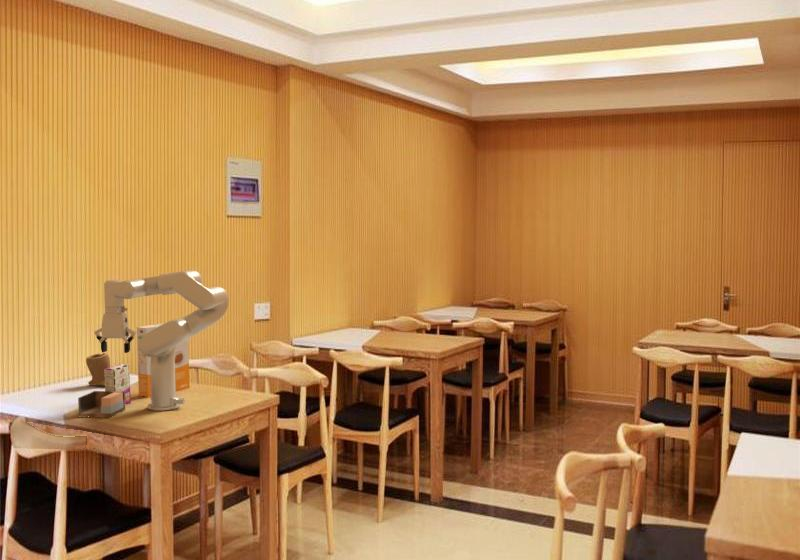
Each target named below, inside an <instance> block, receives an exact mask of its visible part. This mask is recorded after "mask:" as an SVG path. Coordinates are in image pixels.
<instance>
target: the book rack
mask: <svg viewBox="0 0 800 560" xmlns="http://www.w3.org/2000/svg"><path fill="white" fill-rule="evenodd" d="M77 401H78V403H77V404H78V413H77V417H78V416H81V417H80V418H83V417H82V416H85V417H84V418H91V417H111V418H113V417H115V416H116V415H115V414H117V413H119V412H121V411H123V410H125V411H126V405H125V392H117V391H105V390H93V391H91V392H89V393H86V394H84V395H82V396H80V397H78V399H77ZM123 412H124V411H123ZM121 413H122V412H121ZM119 414H120V413H119ZM114 415H115V416H114ZM117 415H118V414H117ZM88 416H89V417H88ZM112 416H113V417H112Z"/></svg>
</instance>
